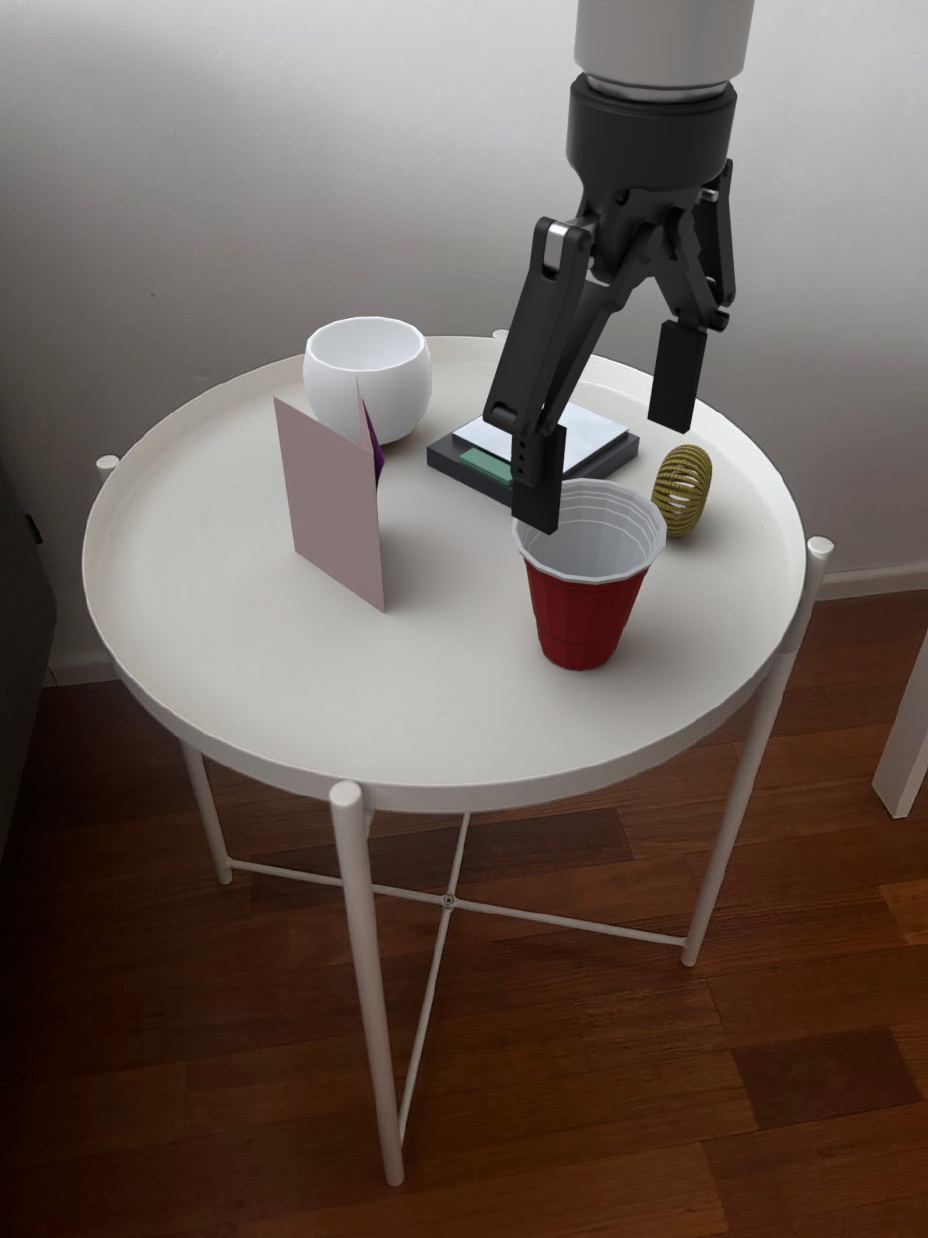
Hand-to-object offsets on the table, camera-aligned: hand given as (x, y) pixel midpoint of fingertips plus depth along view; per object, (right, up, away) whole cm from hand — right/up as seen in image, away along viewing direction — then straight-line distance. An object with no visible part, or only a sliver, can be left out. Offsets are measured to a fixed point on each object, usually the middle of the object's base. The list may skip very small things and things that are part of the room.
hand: (605, 471), depth 60 cm
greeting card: (-19, -5, +25) cm, 31 cm away
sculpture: (+10, -1, +29) cm, 31 cm away
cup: (-18, +10, +41) cm, 46 cm away
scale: (-2, +7, +37) cm, 38 cm away
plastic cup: (0, -11, +18) cm, 21 cm away
